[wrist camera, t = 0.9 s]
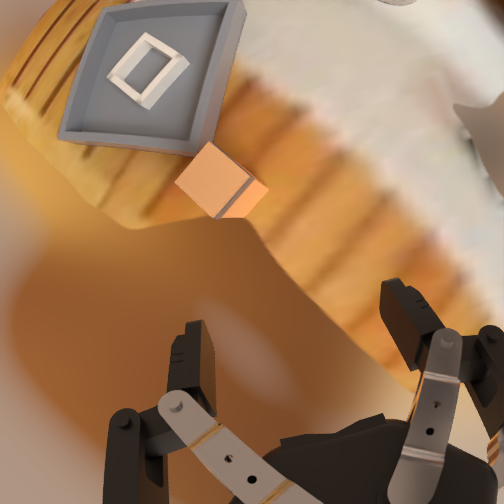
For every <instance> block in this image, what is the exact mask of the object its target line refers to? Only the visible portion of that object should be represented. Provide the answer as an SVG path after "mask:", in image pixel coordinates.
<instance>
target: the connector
mask: <svg viewBox="0 0 504 504" xmlns="http://www.w3.org/2000/svg"><path fill="white" fill-rule="evenodd" d="M174 183H176V184H177V185H178V186H179V187H180V188H181V189H182V190H183V191H184V192H185V193H186V194H187V195H188V196H189V197H191V198H192V199H193V200H194V201H195V202H196V203H197V204H198V205H199V206H200V207H201V208H202V209H203V210H204V211H205V212H207V213H208V214H209V215H210V216H211V217H212V218H214V219H220V218H223V217H245V216H246V215H247V214H248V213H249V212H250V211H251V209H252V208H253V207H254V206H255V205H256V204H257V203H258V202H259V200H260V199H261V198H262V197H263V196H264V195H265V194H266V193H267V192H268V190H269V189H268V188H267V187H266V186H265V185H264V184H263V183H262V182H260V181H259V180H258V179H257V178H256V177H255V176H254V175H253V174H251V173H250V172H249V171H248V170H247V169H246V168H244V167H243V166H242V165H241V164H240V163H238V162H237V161H235V160H234V159H233V158H231V157H230V156H229V155H228V154H226V153H225V152H224V151H223V150H222V149H221V148H219V147H218V146H217V145H216V144H214V143H213V142H212V141H211V142H208V143H207V144H206V145H205V146H204V147H203V149H202V150H201V151H200V152H199V153H198V154H197V156H196V157H195V158H194V159H193V160H192V162H191V163H190V164H189V165H188V166H187V168H186V169H185V170H184V171H183V172H182V174H181V175H180V176H179V177H178V179H177V180H176V181H175V182H174Z"/></svg>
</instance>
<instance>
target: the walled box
mask: <svg viewBox="0 0 504 504" xmlns="http://www.w3.org/2000/svg"><path fill="white" fill-rule="evenodd" d="M246 16H247V12H246V10H245V7H244V4H243V2H242V0H147V1H140V2H133V3H127V4H121V5H115V6H110V7H105V8H103V9H102V11H101V13H100V15H99V17H98V19H97V22H96V24H95V26H94V29H93V31H92V33H91V36H90V38H89V41H88V43H87V46H86V48H85V51H84V53H83V56H82V59H81V61H80V64H79V67H78V70H77V73H76V76H75V78H74V82H73V85H72V88H71V91H70V94H69V97H68V101H67V104H66V108H65V111H64V115H63V118H62V122H61V126H60V130H59V134H58V138H57V139H58V140H62V141H66V142H70V143H74V144H80V145H93V146H104V147H114V148H124V149H133V150H142V151H151V152H158V153H166V154H174V155H181V156H188V157H194V158H195V157H196V156H197V154H198V153H199V152H200V151H201V150H202V149H203V147H204V146H205V145H206V144H207V143H208V142H211V141H212V142H213V140H214V135H215V131H216V127H217V123H218V119H219V115H220V111H221V107H222V103H223V99H224V95H225V91H226V87H227V83H228V79H229V76H230V72H231V68H232V64H233V61H234V57H235V53H236V50H237V46H238V43H239V39H240V36H241V32H242V29H243V26H244V22H245V19H246Z"/></svg>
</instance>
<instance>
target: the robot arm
mask: <svg viewBox="0 0 504 504" xmlns="http://www.w3.org/2000/svg"><path fill="white" fill-rule="evenodd" d="M380 1H383V2H386V3H389V4H393V5H408V4H411V3H413V2H415V1H416V0H380ZM379 309H380V315H381V318H382V320H383V322H384V324H385V325H386V327H387V329H388V331H389V333H390V334H391V336H392V338H393V340H394V342H395V343H396V345H397V347H398V349H399V351H400V353H401V354H402V356H403V358H404V360H405V362H406V364H407V366H408V368H409V370H410V372H411V371H414V370H417V369H419V370H420V372H421V374H420V377H419V381H418V385H417V389H416V392H415V396H414V399H413V402H412V406H411V409H410V412H409V415H408V417H407V420H406V421H402V420H397V419H385V417H384V415H383V413H381V414H378V415H375V416H372V417H369V418H365V419H362V420H359V421H357V422H355V423H353V424H352V425H350V426H348V427H346V428H344V429H342V430H340V431H338V432H336V433H333V434H304V435H299V436H295V437H289V438H284V439H280V442H281V446H279V447H277V448H275V449H273V450H271V451H270V452H268V453H267V454H265V455H264V456H263V457H262V458H260V457H259V456H258V455H257V454H256V453H255V452H253V451H252V450H251V449H250V448H249V447H247V446H246V445H245V444H244V443H243V442H242V441H241V440H240V439H238V438H237V437H236V436H235V435H234V434H233V433H232V432H230V430H228V429H227V428H226V427H225V426H224V425H222V424H218V423H217V422H216V421H215V420H214V419H213V418H212V417H216V416H217V411H216V377H215V351H214V346H213V343H212V340H211V338H210V335H209V333H208V330H207V327H206V325H205V322H204V320H197V321H191V322H187V323H186V327H185V335H178V336H177V337H176V339H175V340H174V342H173V344H172V347H171V356H170V365H169V374H168V384H167V392H166V394H165V395H164V396H163V397H162V398H161V399H160V401H159V403H158V405H157V406H155V407H153V408H151V409H148V410H145V411H143V412H140V413H137V412H136V411H135V410H133V409H130V408H125V409H121V410H119V411H117V412H116V413H115V414H114V415H113V416H112V418H111V419H110V423H109V431H108V439H107V449H106V460H105V471H104V485H103V486H104V487H103V504H169V487H168V453H171V452H173V451H176V450H179V449H182V448H184V447H188V448H189V449H190V451H191V452H192V453H193V454H194V455H195V456H196V457H197V458H198V459H199V460H200V461H201V462H202V464H203V465H204V466H205V467H206V468H207V469H208V470H209V471H210V472H211V473H212V474H213V475H214V476H215V477H216V478H217V479H218V480H219V481H220V482H221V483H222V484H223V485H224V486H225V487H226V488H227V489H228V490H229V491H230V492H231V493H233V495H234V497H233V498H232V500H231V501H230V502H229V504H496V502H497V493H498V491H499V490H501V489H502V488H504V332H503V331H502V330H501V329H500V328H498V327H496V326H493V325H486V326H484V327H482V328H481V329H480V331H479V333H478V335H471V336H461V335H460V334H459V333H458V332H457V331H455V330H453V329H450V328H445V326H444V325H443V323H442V322H441V321H440V319H439V318H438V316H437V315H436V314H435V312H434V311H433V309H432V308H431V307H429V304H428V303H427V301H426V300H425V299H424V297H423V296H422V295H421V293H420V292H419V291H418V290H416V289H415V288H413V287H412V286H407V287H405V285H404V284H403V283H402V281H401V280H400V279H399V278H393V279H389V280H386V281H383V282H382V284H381V294H380V306H379ZM460 383H464V384H465V386H466V388H467V390H468V392H469V394H470V396H471V398H472V400H473V403H474V405H475V407H476V409H477V411H478V413H479V415H480V417H481V420H482V422H483V424H484V426H485V428H486V431H487V433H488V435H489V438H490V441H489V443H488V446H487V455H488V456H487V459H488V463H486V462H485V461H483V460H481V459H479V458H477V457H475V456H473V455H471V454H469V453H467V452H465V451H463V450H461V449H459V448H457V447H455V446H453V445H451V444H449V443H448V440H449V436H450V432H451V427H452V423H453V419H454V414H455V409H456V404H457V399H458V392H459V388H460Z"/></svg>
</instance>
